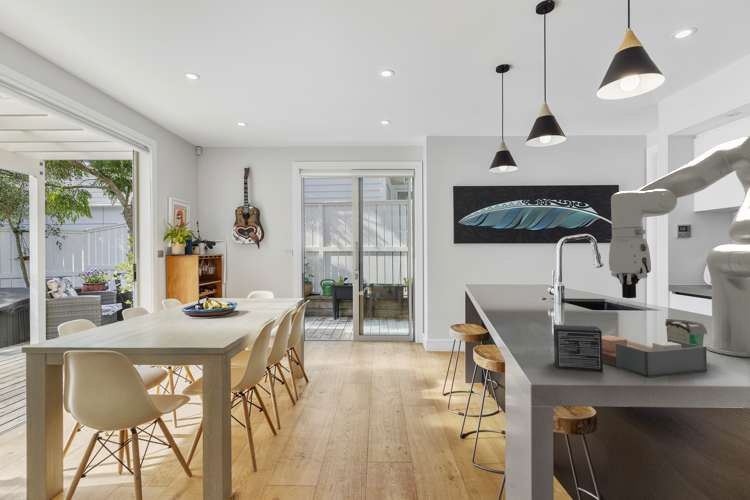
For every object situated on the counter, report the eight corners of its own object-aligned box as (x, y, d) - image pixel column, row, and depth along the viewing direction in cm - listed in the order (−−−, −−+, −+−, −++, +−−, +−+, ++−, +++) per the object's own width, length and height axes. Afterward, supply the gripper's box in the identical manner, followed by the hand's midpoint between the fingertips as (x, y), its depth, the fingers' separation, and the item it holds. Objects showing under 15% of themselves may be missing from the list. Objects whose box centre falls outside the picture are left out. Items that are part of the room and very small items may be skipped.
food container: (719, 366, 96) (718, 327, 96) (692, 365, 97) (691, 327, 97) (689, 353, 108) (689, 319, 108) (665, 352, 110) (664, 318, 110)
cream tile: (670, 341, 98) (681, 344, 95) (670, 362, 98) (681, 366, 95) (652, 342, 97) (663, 345, 94) (652, 364, 97) (663, 367, 94)
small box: (597, 365, 99) (597, 325, 99) (603, 372, 93) (603, 330, 93) (553, 361, 102) (553, 323, 102) (556, 368, 96) (556, 328, 96)
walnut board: (628, 348, 114) (628, 340, 114) (670, 360, 101) (670, 351, 101) (578, 353, 110) (577, 344, 110) (615, 366, 97) (615, 356, 97)
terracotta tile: (610, 345, 109) (610, 335, 109) (627, 350, 103) (626, 339, 103) (594, 346, 107) (594, 336, 107) (610, 351, 102) (610, 340, 102)
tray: (671, 361, 101) (670, 339, 101) (706, 371, 93) (706, 347, 93) (616, 366, 97) (615, 343, 97) (647, 377, 88) (647, 352, 89)
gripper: (662, 232, 102) (664, 300, 102) (616, 235, 116) (617, 294, 116) (640, 233, 100) (642, 301, 100) (595, 236, 115) (597, 295, 114)
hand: (629, 297), depth 108 cm, fingers closed
